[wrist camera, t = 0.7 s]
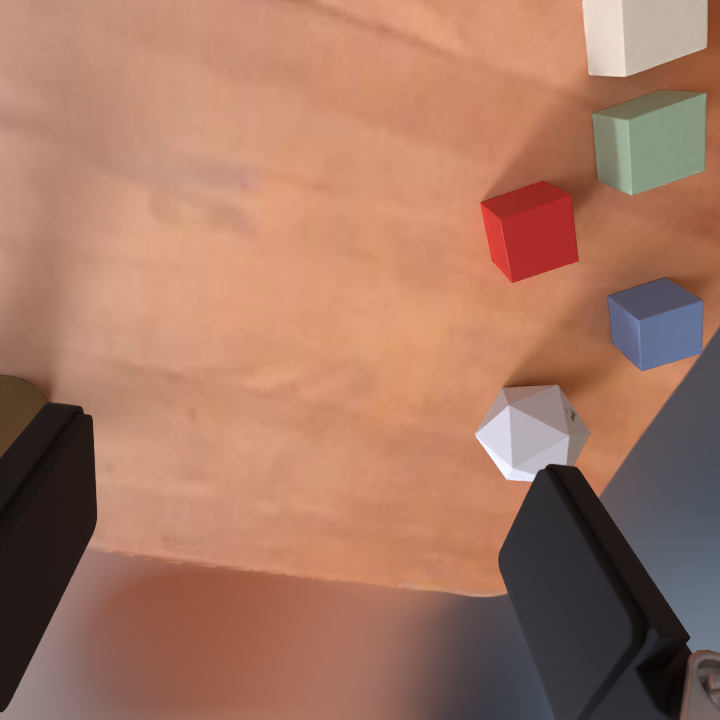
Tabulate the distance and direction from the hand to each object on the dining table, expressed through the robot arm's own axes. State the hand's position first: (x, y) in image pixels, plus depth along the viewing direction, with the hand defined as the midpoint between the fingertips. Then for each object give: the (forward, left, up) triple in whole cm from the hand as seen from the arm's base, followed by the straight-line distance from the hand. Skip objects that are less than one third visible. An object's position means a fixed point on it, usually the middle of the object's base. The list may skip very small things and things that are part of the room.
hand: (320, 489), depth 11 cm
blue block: (+19, +23, -32) cm, 44 cm away
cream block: (-3, +23, -32) cm, 39 cm away
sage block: (+4, +23, -32) cm, 39 cm away
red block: (+8, +14, -32) cm, 35 cm away
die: (+26, +11, -32) cm, 42 cm away
